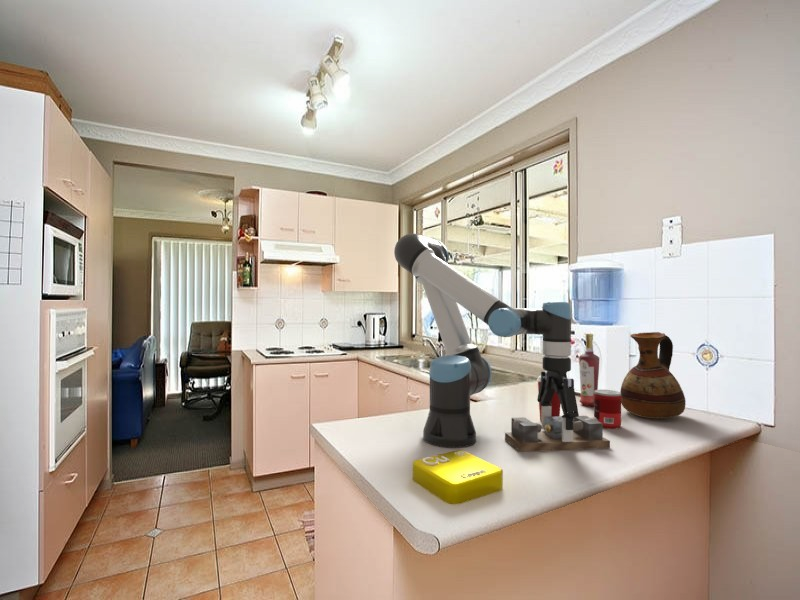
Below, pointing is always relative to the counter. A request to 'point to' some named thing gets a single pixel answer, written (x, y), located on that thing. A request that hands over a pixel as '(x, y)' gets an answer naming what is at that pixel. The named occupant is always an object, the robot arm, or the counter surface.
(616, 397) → the canned food
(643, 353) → the ceramic pitcher
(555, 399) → the coffee cup
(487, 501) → the counter surface
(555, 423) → the coupler
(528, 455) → the counter surface
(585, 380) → the liquor
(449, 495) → the element tile
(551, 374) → the robot arm
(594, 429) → the shaft stand
